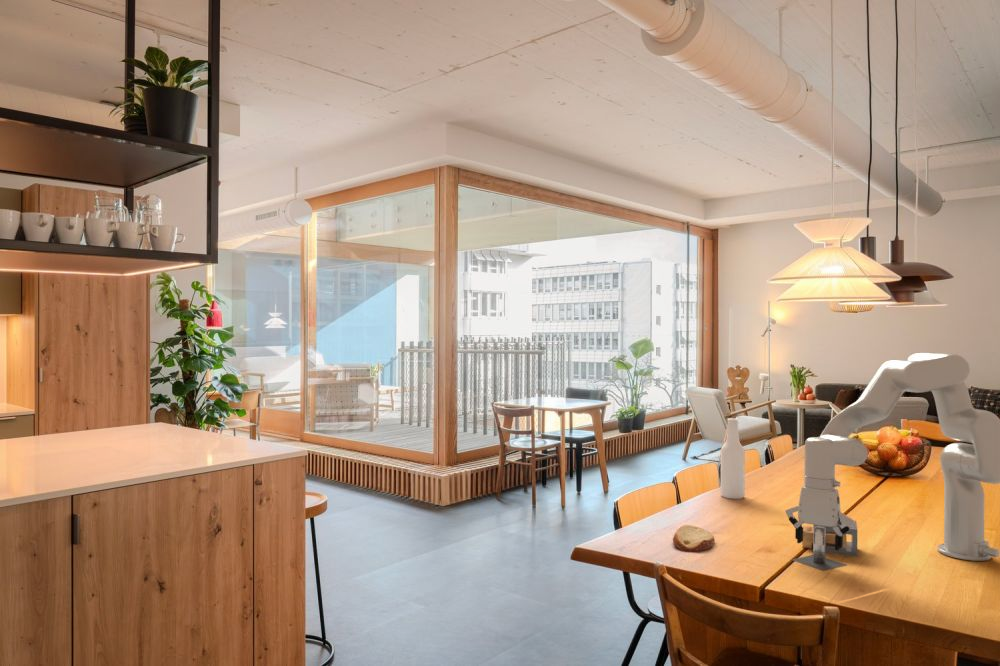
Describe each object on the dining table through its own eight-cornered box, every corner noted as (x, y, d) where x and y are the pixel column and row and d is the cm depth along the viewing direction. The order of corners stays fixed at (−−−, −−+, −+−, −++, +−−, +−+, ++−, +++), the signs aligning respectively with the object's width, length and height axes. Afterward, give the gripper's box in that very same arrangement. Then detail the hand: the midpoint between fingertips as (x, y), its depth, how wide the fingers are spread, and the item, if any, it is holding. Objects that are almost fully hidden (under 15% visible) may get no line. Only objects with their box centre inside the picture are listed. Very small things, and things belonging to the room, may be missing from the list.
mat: (847, 566, 185) (847, 564, 185) (823, 572, 180) (823, 571, 180) (815, 555, 194) (815, 554, 194) (791, 561, 189) (791, 559, 189)
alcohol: (741, 494, 267) (741, 417, 267) (747, 499, 258) (747, 420, 258) (718, 493, 268) (718, 417, 268) (723, 499, 259) (723, 419, 259)
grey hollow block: (856, 548, 201) (856, 520, 201) (857, 558, 192) (857, 529, 192) (803, 541, 207) (803, 515, 207) (802, 551, 198) (802, 523, 198)
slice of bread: (693, 530, 219) (693, 518, 219) (735, 546, 203) (735, 534, 203) (648, 537, 211) (648, 525, 211) (688, 555, 195) (688, 541, 195)
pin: (827, 563, 187) (828, 528, 186) (820, 564, 185) (820, 529, 185) (817, 559, 189) (818, 525, 189) (810, 561, 188) (811, 526, 188)
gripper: (857, 485, 185) (856, 549, 185) (790, 476, 195) (789, 536, 195) (851, 490, 179) (850, 555, 179) (782, 480, 190) (781, 542, 190)
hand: (818, 545), depth 187 cm, fingers open, 9 cm apart
